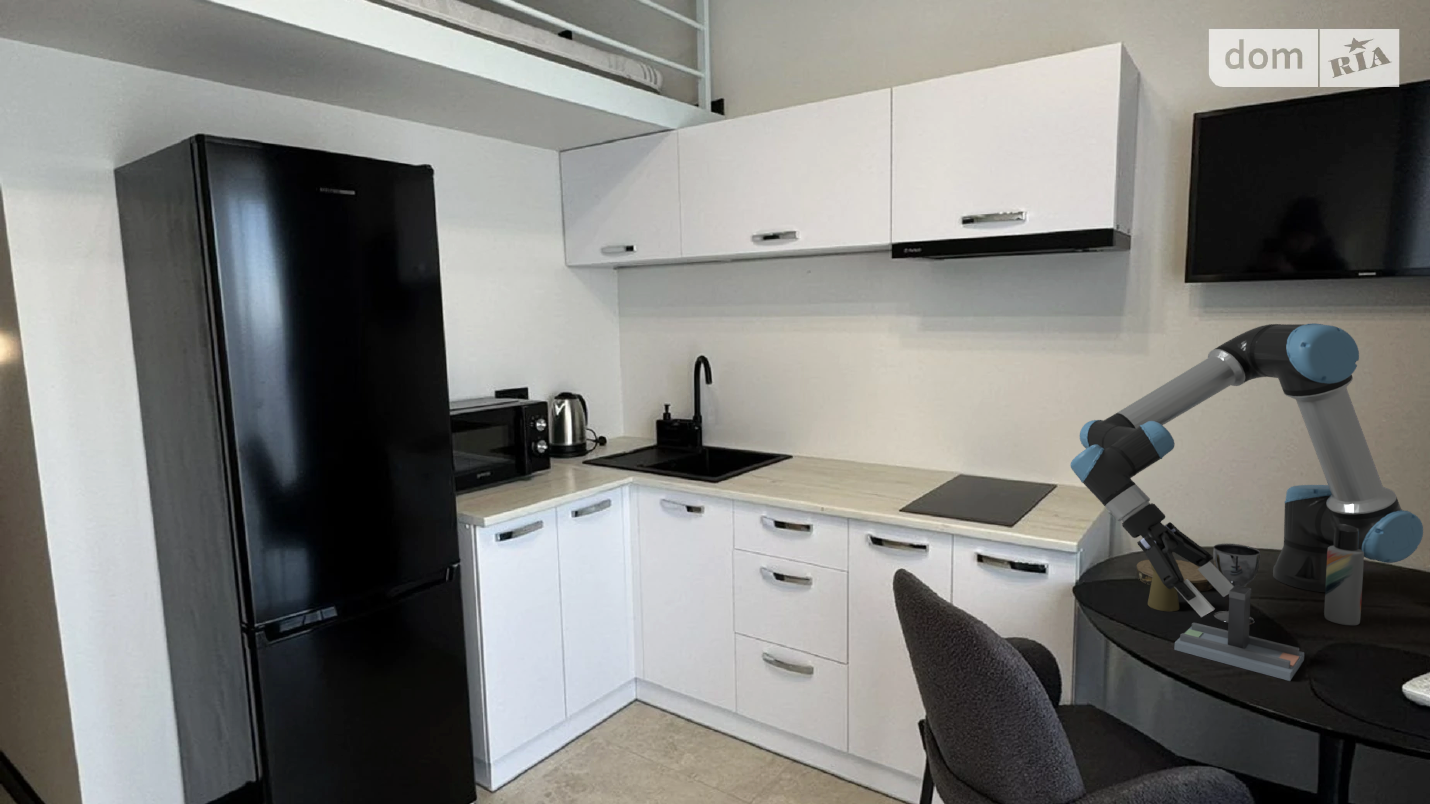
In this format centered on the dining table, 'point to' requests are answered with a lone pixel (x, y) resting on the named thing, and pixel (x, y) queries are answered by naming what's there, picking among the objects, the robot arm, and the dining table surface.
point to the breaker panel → (1241, 651)
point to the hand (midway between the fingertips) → (1219, 603)
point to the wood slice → (1187, 572)
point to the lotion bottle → (1344, 577)
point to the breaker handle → (1239, 616)
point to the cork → (1162, 595)
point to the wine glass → (1236, 568)
